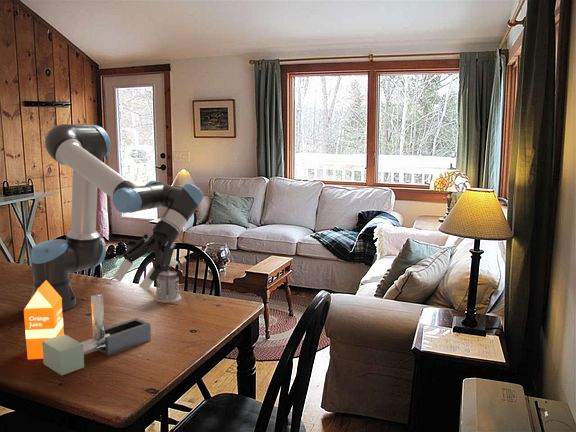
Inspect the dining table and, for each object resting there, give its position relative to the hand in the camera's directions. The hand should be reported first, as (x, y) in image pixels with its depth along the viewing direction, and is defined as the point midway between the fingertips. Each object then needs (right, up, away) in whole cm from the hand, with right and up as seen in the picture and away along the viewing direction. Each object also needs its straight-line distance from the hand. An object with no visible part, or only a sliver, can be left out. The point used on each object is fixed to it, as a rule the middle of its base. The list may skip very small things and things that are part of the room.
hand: (129, 284), depth 149 cm
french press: (+2, -11, +41) cm, 43 cm away
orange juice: (-22, -19, -5) cm, 30 cm away
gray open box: (-2, -18, +1) cm, 18 cm away
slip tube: (-9, -18, -8) cm, 22 cm away
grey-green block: (-14, -20, -13) cm, 28 cm away
